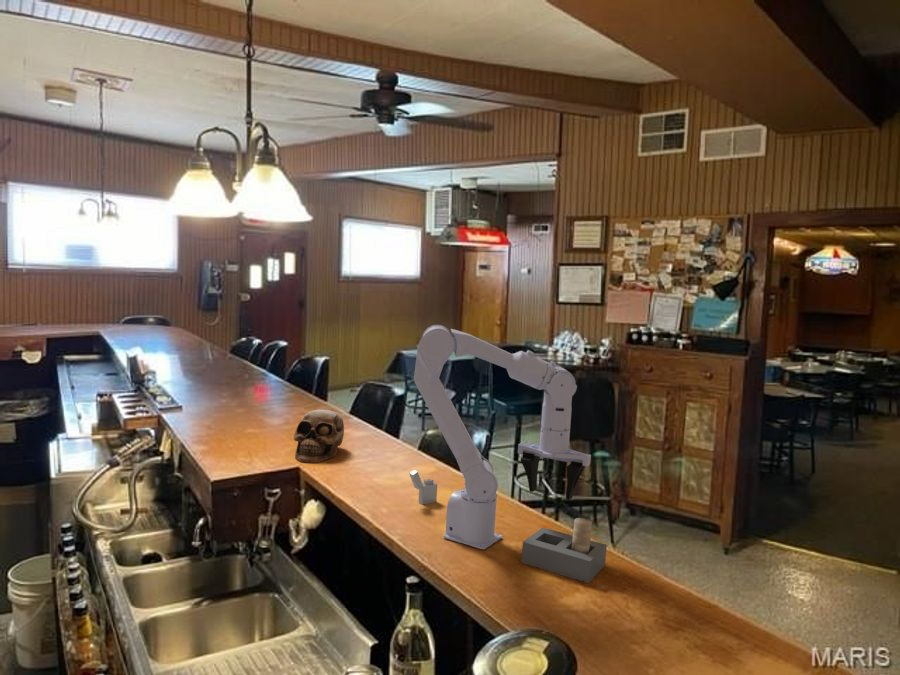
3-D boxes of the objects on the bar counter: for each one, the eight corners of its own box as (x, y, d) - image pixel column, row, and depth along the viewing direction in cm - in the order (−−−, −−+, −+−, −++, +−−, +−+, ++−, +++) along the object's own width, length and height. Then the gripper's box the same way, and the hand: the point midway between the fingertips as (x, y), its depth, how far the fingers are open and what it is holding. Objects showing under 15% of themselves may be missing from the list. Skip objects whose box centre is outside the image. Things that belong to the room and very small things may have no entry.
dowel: (567, 563, 119) (571, 521, 118) (573, 557, 121) (578, 516, 120) (583, 568, 117) (588, 526, 116) (590, 562, 120) (594, 521, 119)
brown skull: (300, 463, 174) (302, 413, 174) (283, 453, 189) (285, 407, 189) (356, 460, 181) (357, 412, 181) (335, 450, 196) (337, 406, 197)
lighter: (432, 499, 152) (434, 466, 151) (436, 501, 151) (438, 468, 150) (407, 504, 148) (409, 470, 147) (411, 506, 146) (413, 472, 145)
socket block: (521, 562, 120) (522, 541, 120) (541, 546, 128) (542, 527, 128) (588, 583, 114) (590, 561, 113) (605, 565, 121) (606, 544, 121)
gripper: (513, 425, 128) (509, 492, 130) (585, 437, 121) (580, 507, 123) (527, 419, 134) (522, 483, 136) (595, 430, 128) (590, 497, 129)
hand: (550, 494), depth 130 cm, fingers open, 7 cm apart
